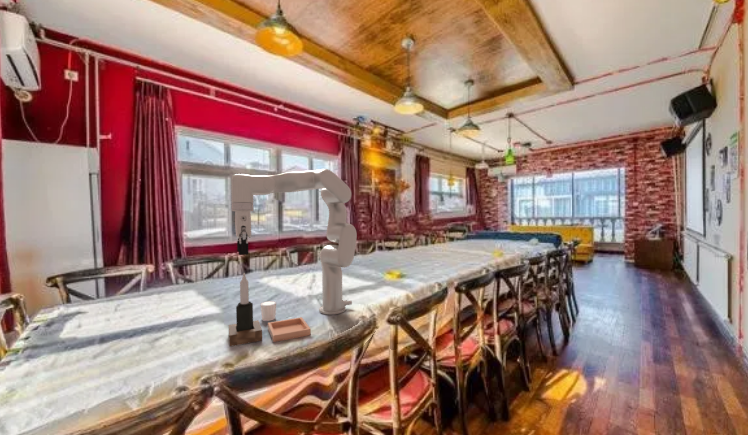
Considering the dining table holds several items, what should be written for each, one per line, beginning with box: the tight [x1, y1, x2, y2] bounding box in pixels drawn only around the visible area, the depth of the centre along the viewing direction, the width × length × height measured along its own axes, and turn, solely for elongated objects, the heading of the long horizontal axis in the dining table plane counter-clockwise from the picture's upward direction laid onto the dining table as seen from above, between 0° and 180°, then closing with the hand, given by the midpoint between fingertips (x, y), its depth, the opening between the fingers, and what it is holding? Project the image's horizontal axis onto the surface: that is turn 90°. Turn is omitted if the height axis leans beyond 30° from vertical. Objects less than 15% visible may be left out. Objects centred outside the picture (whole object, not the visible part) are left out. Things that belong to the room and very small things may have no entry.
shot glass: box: [260, 300, 277, 322], centre depth 138 cm, size 7×7×7 cm
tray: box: [267, 316, 312, 343], centre depth 123 cm, size 14×14×2 cm
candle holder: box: [228, 319, 263, 347], centre depth 117 cm, size 11×11×4 cm
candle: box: [235, 272, 254, 332], centre depth 117 cm, size 5×5×25 cm
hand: (242, 252), depth 116 cm, fingers open, 9 cm apart
